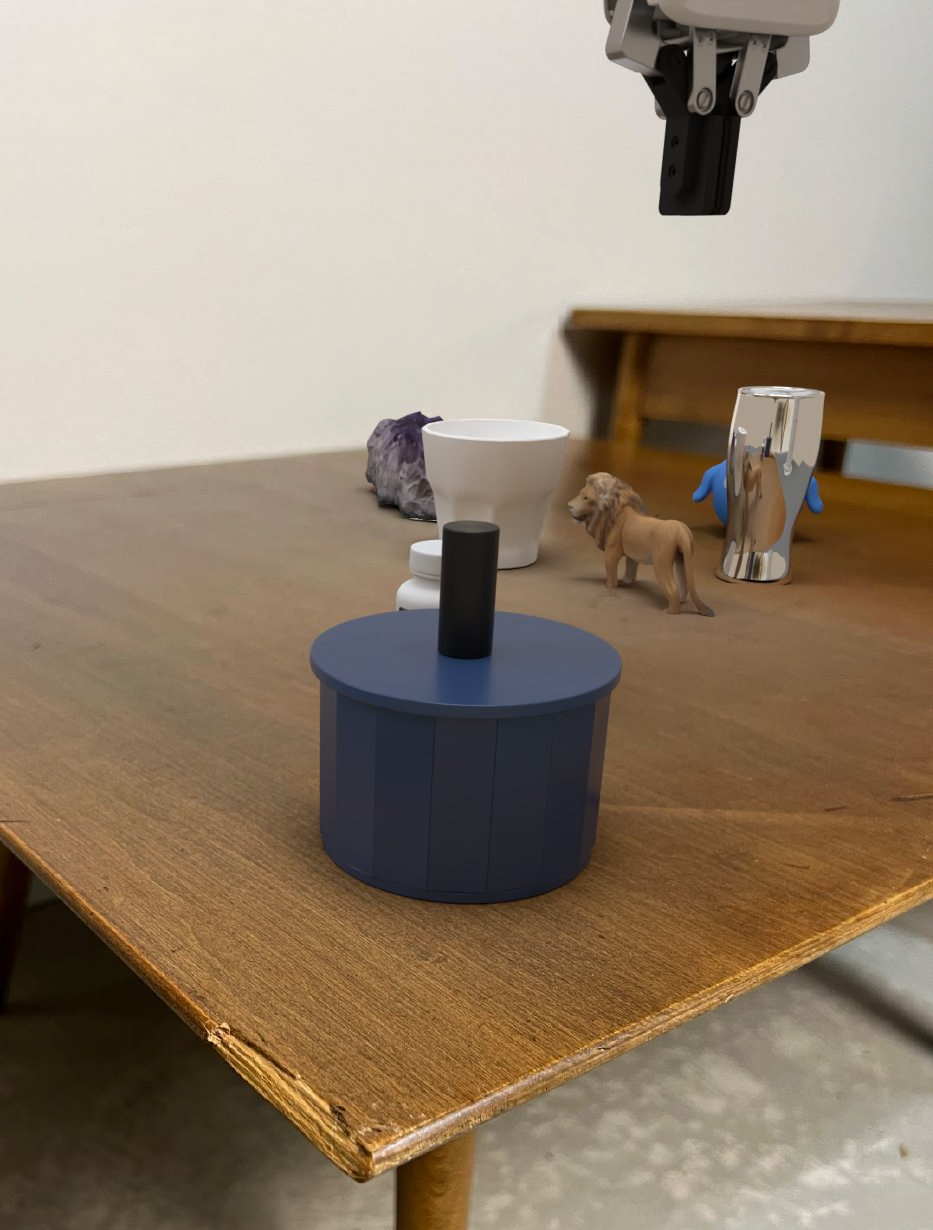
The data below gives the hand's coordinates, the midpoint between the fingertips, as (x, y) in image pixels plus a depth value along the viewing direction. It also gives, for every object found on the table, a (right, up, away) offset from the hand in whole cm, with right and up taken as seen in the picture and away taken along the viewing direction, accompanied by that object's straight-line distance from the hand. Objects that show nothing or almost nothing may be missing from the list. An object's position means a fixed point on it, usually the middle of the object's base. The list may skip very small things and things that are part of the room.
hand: (693, 214), depth 57 cm
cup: (-4, -7, +50) cm, 51 cm away
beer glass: (+18, -10, +45) cm, 49 cm away
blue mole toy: (+22, -4, +58) cm, 63 cm away
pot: (-11, -29, 0) cm, 31 cm away
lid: (-11, -21, -3) cm, 24 cm away
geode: (-8, +3, +72) cm, 73 cm away
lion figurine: (+6, -13, +38) cm, 41 cm away
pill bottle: (-11, -22, +16) cm, 29 cm away
